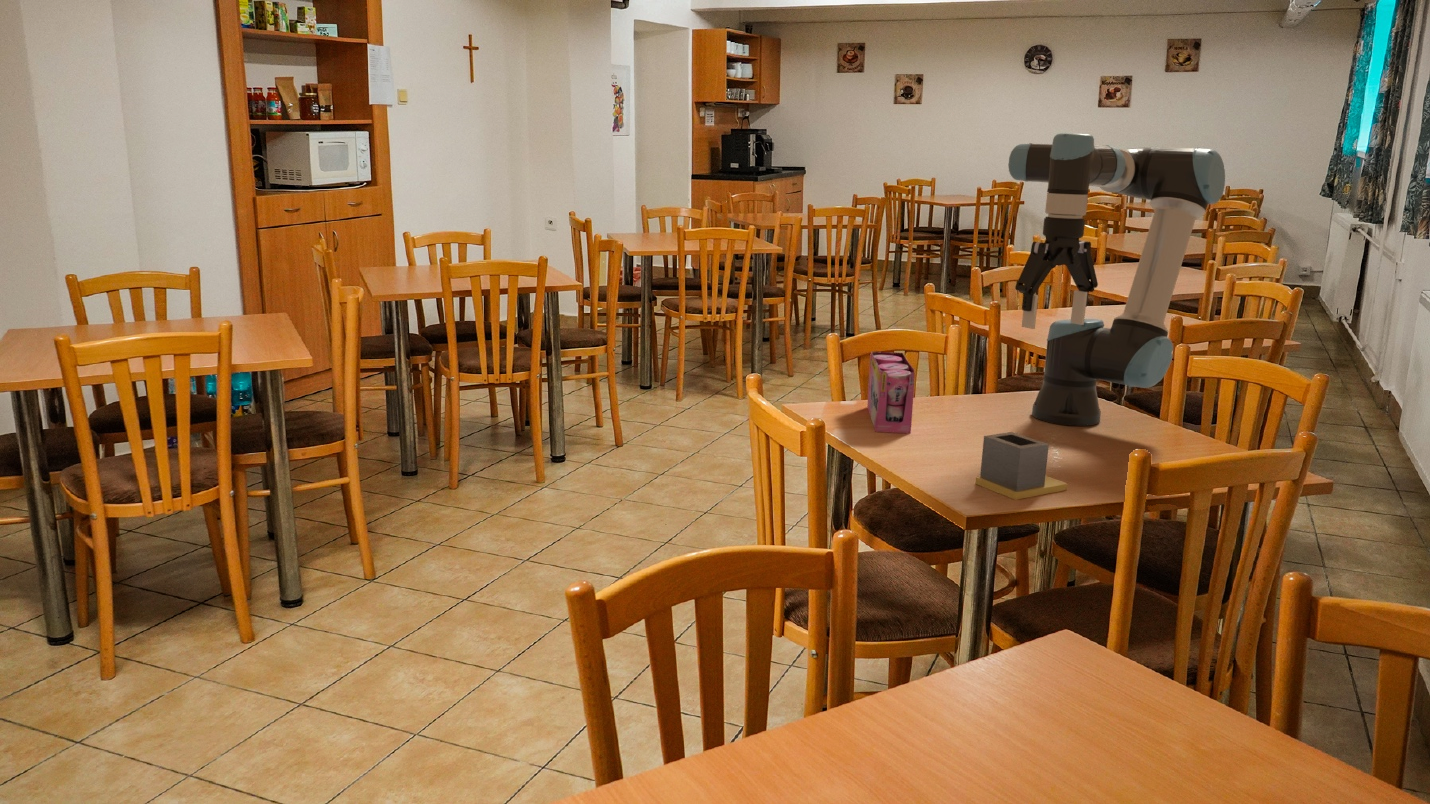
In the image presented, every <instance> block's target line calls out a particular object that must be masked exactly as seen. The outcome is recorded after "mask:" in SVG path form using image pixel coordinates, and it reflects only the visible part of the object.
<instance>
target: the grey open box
mask: <svg viewBox="0 0 1430 804" xmlns="http://www.w3.org/2000/svg"><path fill="white" fill-rule="evenodd" d="M1049 448H1050V444H1049V443H1047V442H1043V441H1040V440H1037V439H1035V438H1031V437H1028V436H1026V435H1022V434H1020V433H1018V432H1017V433H1016V432H1014V431H1010V432H1002V433H994V434H989V435H984V436H983V443H982V451H981V452H982V454H981V465H980V474H979V477H980V478H982V479H984V480H987V481H989V482H992V483H994V484H997V485H1000V486H1002V487H1005V488H1007V489H1010V490H1012V491H1015V492H1019V491H1025V490H1030V489H1035V488H1041V487H1044V485H1045V476H1047V474H1046V472H1047V464H1048V457H1049Z"/></svg>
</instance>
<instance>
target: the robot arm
mask: <svg viewBox="0 0 1430 804" xmlns="http://www.w3.org/2000/svg"><path fill="white" fill-rule="evenodd" d="M1008 172H1009V175H1010V177H1012V179H1014V180H1016V181H1022V182H1023V181H1024V182H1025V183H1026V182H1035V183H1037V182H1038V183H1047V184H1048V186H1047V191H1046V201H1045V209H1044V210H1045V211H1044V212H1045V213H1046V214H1047V216H1045V218H1043V226H1042V235H1043V236H1044V237H1045V241H1044V242H1041V241H1033V242H1032V243H1031V248H1030V254H1029V255H1028V257H1027V260H1026V262H1025V264H1024V266H1023V268H1022V271H1021V273H1020V276H1019V277H1018V279H1017V282H1016V284H1015V286H1014V288H1015V289H1014V290H1015V291H1018V292H1019V293H1020V294H1022V304H1021V310H1022V320H1021V328H1025V329H1031V330H1034V329H1036V324H1037V323H1036V321H1037V312H1038V301H1039V295H1038V294H1036V293H1037V291H1038V290H1039V288H1040V287H1041V285H1043V282H1044V281H1045V280H1046V278H1047V277H1048V275H1049V274H1050V273H1051V271H1052V270H1053V269H1054V268H1056V267H1057V266H1065V267H1066V268H1067V270H1068V272H1069V274H1070V276H1071V277H1072V280H1073V282H1074V284H1075V286H1076V288H1077V289H1076V290H1074V291H1073V296H1072V297H1073V299H1072V307H1071V315H1070V319H1069V318H1068V319H1060V320H1055V321H1054V322H1052V323H1051V324H1050V326H1049V329H1048V334H1047V338H1046V349H1045V350H1046V352H1045V360H1044V362H1045V363H1044V371H1043V372H1044V373H1043V381H1042V385H1041V387H1040V389H1039V391H1038V394H1037V396H1036V397H1035V401H1034V402H1033V404H1032V410H1031V416H1033V418H1035V419H1038V420H1040V421H1043V422H1046V423H1050V424H1056V425H1062V426H1063V425H1064V426H1074V427H1075V426H1077V427H1083V426H1094V425H1097V424H1099V423H1100V422H1101V414H1102V412H1101V411H1102V410H1101V409H1100V406H1099V405H1100V403H1099V398H1098V392H1097V380H1099V381H1105V382H1109V383H1115V384H1118V385H1119V384H1120V385H1124V386H1127V387H1130V388H1133V387H1134V388H1136V387H1137V388H1141V389H1142V388H1143V389H1148V388H1151V387H1153V386H1155V385H1157V384H1158V383H1160V382H1161V381H1162V379H1164V377H1165V375H1166V374H1167V371H1168V370H1169V368H1170V365H1171V363H1172V359H1173V357H1174V356H1173V355H1174V354H1173V351H1174V344H1173V342H1172V340H1171V339H1170V338H1169V337H1168V335H1169V330H1168V329H1167V327H1166V325H1165V323H1164V322H1165V319H1166V316H1167V313H1168V310H1169V307H1170V303H1171V300H1172V298H1173V297H1172V296H1173V294H1174V289H1175V287H1176V284H1177V280H1178V278H1179V274H1180V271H1181V267H1182V264H1183V260H1184V257H1185V254H1186V252H1187V249H1188V245H1189V241H1190V238H1191V235H1192V232H1193V228H1194V226H1195V223H1196V220H1197V219H1200V218H1201V217H1203V216H1204V215H1205V214H1206V211H1207V208H1208V205H1214V204H1217V203H1219V201H1220V199H1221V198H1222V196H1223V194H1224V191H1225V185H1226V169H1225V164H1224V161H1223V158H1222V156H1221V154H1220V153H1219V152H1218V151H1217V150H1214V149H1212V148H1201V147H1198V146H1197V147H1196V146H1195V147H1164V146H1162V147H1160V146H1148V147H1145V146H1144V147H1136V148H1123V149H1121V148H1117V147H1115V146H1111V145H1108V144H1107V145H1101V144H1100V145H1096V144H1095V138H1094V136H1093V135H1092V134H1089V133H1066V132H1065V133H1063V132H1062V133H1057V134H1056V135H1054V137H1053V138H1052V144H1050V143H1049V144H1048V143H1047V144H1046V143H1044V144H1042V143H1030V142H1029V143H1019V144H1017V145H1016V146H1014V148H1013V149H1012V150H1011V151H1010V154H1009V158H1008ZM1090 187H1095V188H1100V189H1101V190H1103V192H1104V191H1105V192H1107V193H1114V194H1117V195H1118V194H1119V195H1123V196H1127V197H1132V198H1135V199H1141V200H1150V201H1149V205H1150V207H1151V208H1152V210H1153V212H1154V213H1153V215H1152V216H1153V217H1152V220H1151V222H1150V225H1149V228H1148V232H1147V235H1146V239H1145V242H1144V245H1143V248H1142V252H1141V255H1140V257H1139V261H1138V265H1137V268H1136V271H1135V274H1134V277H1133V281H1132V283H1131V287H1130V290H1129V293H1128V297H1127V300H1126V303H1125V306H1124V308H1123V309H1124V310H1123V312H1122V314H1120V315H1118V316H1117V317H1115V318H1113V321H1112V324H1111V327H1110V328H1109V327H1105V323H1104V321H1103V320H1102V319H1098V318H1085V316H1086V309H1087V306H1088V304H1089V303H1088V300H1089V295H1090V294H1089V293H1093V292H1094V291H1095V289H1096V288H1097V287H1098V285H1099V282H1098V280H1097V279H1098V278H1097V273H1096V271H1095V266H1094V261H1093V257H1092V251H1091V250H1092V242H1091V241H1089V240H1088V241H1087V240H1080V239H1082V238H1083V237H1084V234H1085V227H1086V226H1085V225H1086V220H1085V218H1083V216H1086V215H1087V210H1088V209H1087V208H1088V201H1089V200H1088V198H1089V189H1090Z"/></svg>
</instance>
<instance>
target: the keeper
mask: <svg viewBox="0 0 1430 804" xmlns="http://www.w3.org/2000/svg"><path fill="white" fill-rule="evenodd" d="M974 484H975V485H977V486H980V487H983V488H985V489H987V490H990V491H992V492H995V493H997V494H1000V495H1002V496H1005V497H1008V498H1009V499H1012V500H1014V501H1015V500H1021V499H1026V498H1032V497H1038V496H1042V495H1048V494H1052V493H1057V492H1063V491H1067V490H1068V483H1067V482H1064V481H1061V480H1059V479H1056V478H1053V477H1050V476H1048V475H1046V476H1045V485H1044V487H1041V488H1035V489H1030V490H1025V491H1019V492H1015V491H1012V490H1010V489H1007V488H1005V487H1002V486H1000V485H997V484H994V483H992V482H989V481H987V480H984V479H982V478H980V476H976V477H975V483H974Z"/></svg>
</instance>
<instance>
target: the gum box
mask: <svg viewBox="0 0 1430 804" xmlns="http://www.w3.org/2000/svg"><path fill="white" fill-rule="evenodd" d="M868 374H869V375H868V388H867V389H868V391H867V403H866V404H867V407H868V408H867V407H866V408H867V411H868V413H869V417H870V419H871V422H872V425H873V427H874V431H875V432H877V433H879V432H880V433H894V434H895V433H896V434H897V433H898V434H899V433H900V434H911V432H912V420H913V410H914V409H913V407H914V405H913V404H914V395H915V376H916V375H915V374H916V373H915V368H914V367H913V366H912V365H911V364H910V362H909V361H908V359H907V358H906V356H905V354H904V352H891V351H890V352H889V351H887V352H886V351H885V352H883V351H871V353H870V358H869V373H868Z"/></svg>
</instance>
